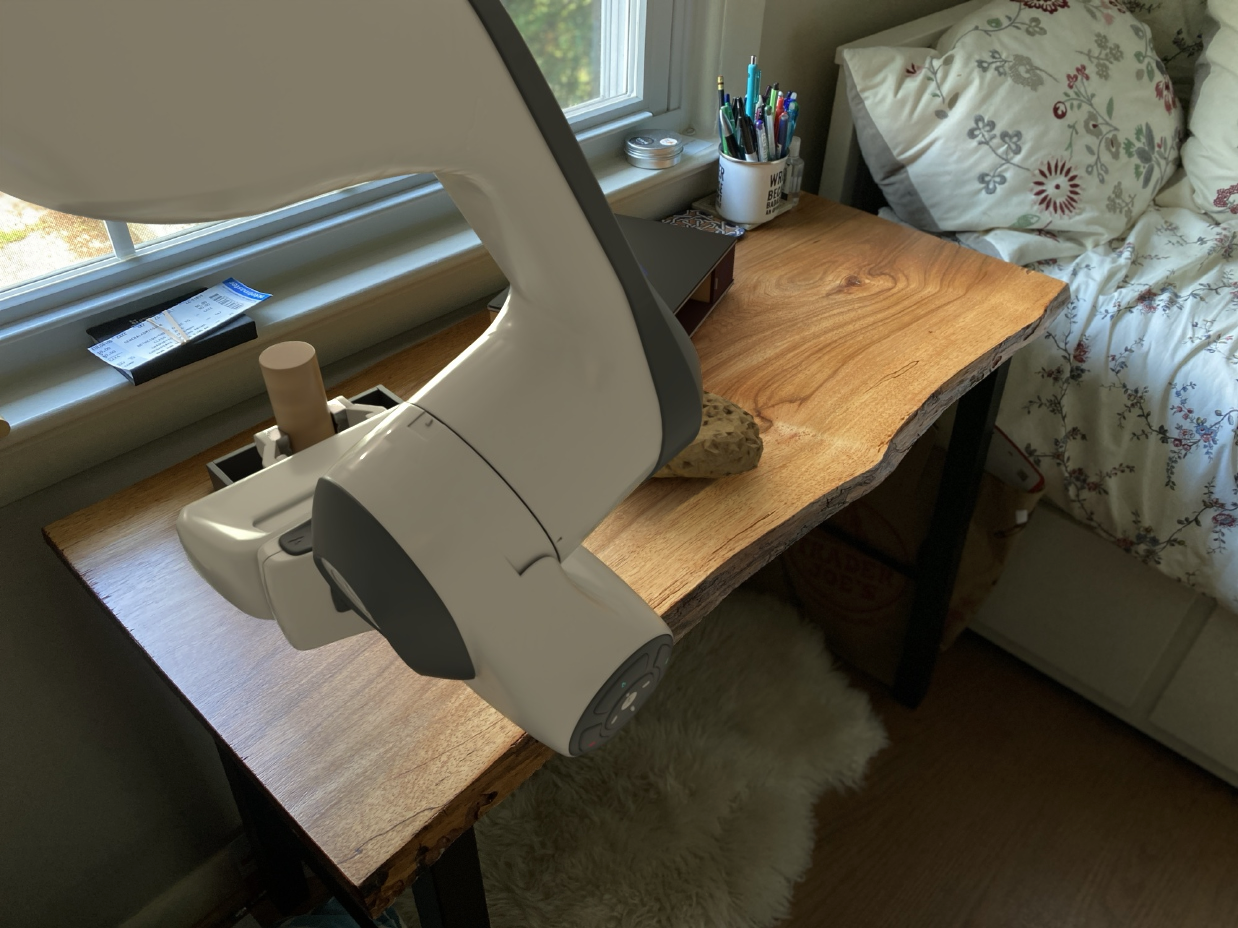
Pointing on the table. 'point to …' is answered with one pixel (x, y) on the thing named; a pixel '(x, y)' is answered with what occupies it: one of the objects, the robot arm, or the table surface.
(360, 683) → the table surface
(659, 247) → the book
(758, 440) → the sponge
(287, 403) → the tan cylinder
